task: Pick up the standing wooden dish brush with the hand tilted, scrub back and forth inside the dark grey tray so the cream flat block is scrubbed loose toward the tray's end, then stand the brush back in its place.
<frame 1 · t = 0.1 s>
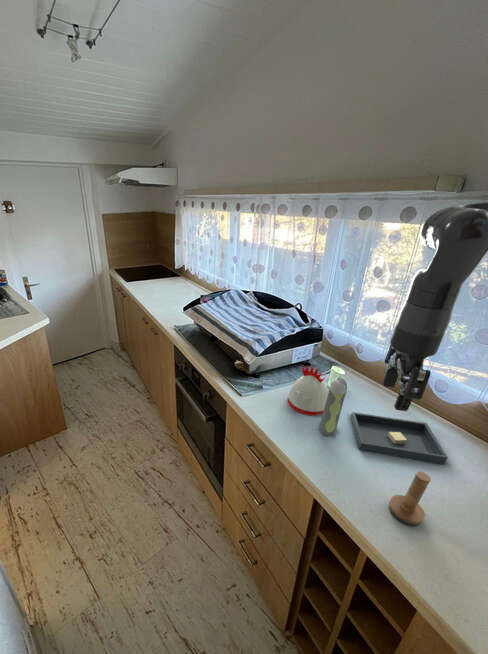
hand: (393, 397, 64), 30 cm above the worktop, tool pointing down, fingers open, 8 cm apart
cream flat block: (396, 439, 94), point 1 cm above the worktop, touching tray
spray bottle: (326, 432, 98), on the worktop
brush: (402, 516, 72), on the worktop
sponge: (249, 363, 137), on the worktop
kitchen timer: (307, 403, 111), on the worktop
light green cylinder: (334, 386, 120), on the worktop
tray: (392, 440, 94), on the worktop
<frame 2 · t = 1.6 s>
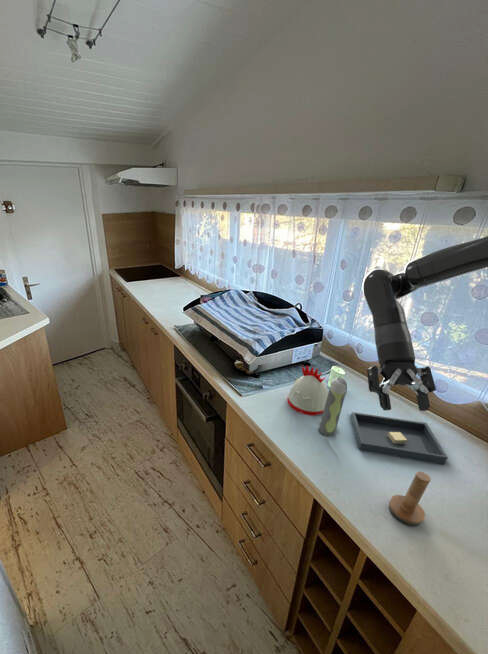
hand: (405, 410, 72), 23 cm above the worktop, tool tilted 45°, fingers open, 8 cm apart
nothing on the worktop moved.
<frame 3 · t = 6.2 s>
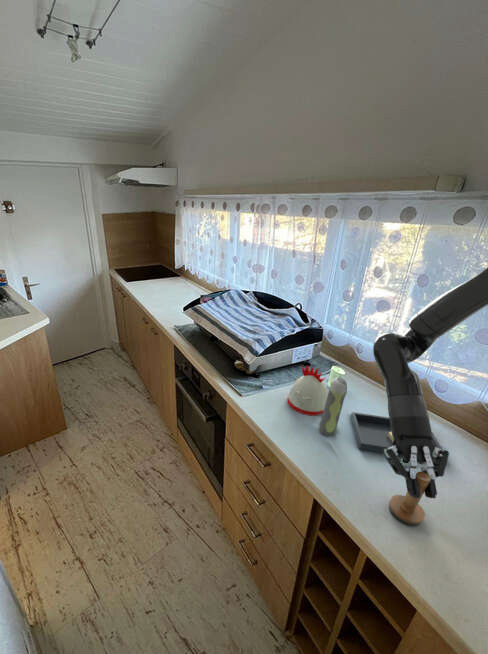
hand: (423, 497, 66), 10 cm above the worktop, tool tilted 45°, fingers closed on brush, 2 cm apart
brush: (402, 516, 72), on the worktop, touching gripper
everything else where it was.
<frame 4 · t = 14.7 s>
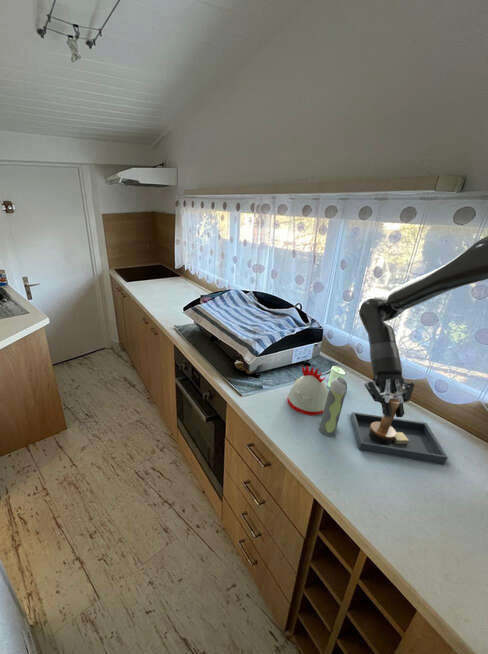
hand: (394, 416, 88), 11 cm above the worktop, tool tilted 45°, fingers closed on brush, 2 cm apart
cream flat block: (398, 439, 94), point 1 cm above the worktop, touching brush, tray
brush: (380, 437, 95), point 1 cm above the worktop, touching cream flat block, gripper, tray
everything else where it was.
when the fingers open (10 cm above the worktop, at t = 29.5 s): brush stays where it is, on the worktop.
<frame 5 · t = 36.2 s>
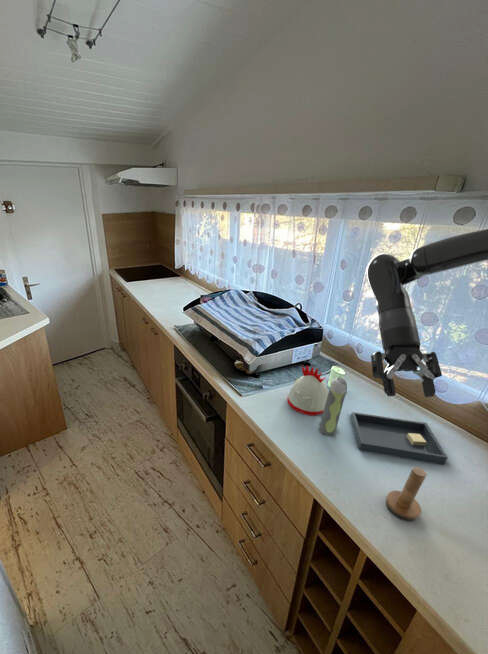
hand: (410, 396, 70), 27 cm above the worktop, tool tilted 45°, fingers open, 8 cm apart
cream flat block: (415, 441, 93), point 1 cm above the worktop, touching tray
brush: (399, 511, 73), on the worktop
everything else where it was.
at the end: cream flat block moved 5.4 cm from its start; cream flat block inside the target area in the tray (6.3 cm from its centre), point 0.6 cm above the tray's base; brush tilted 0° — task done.
